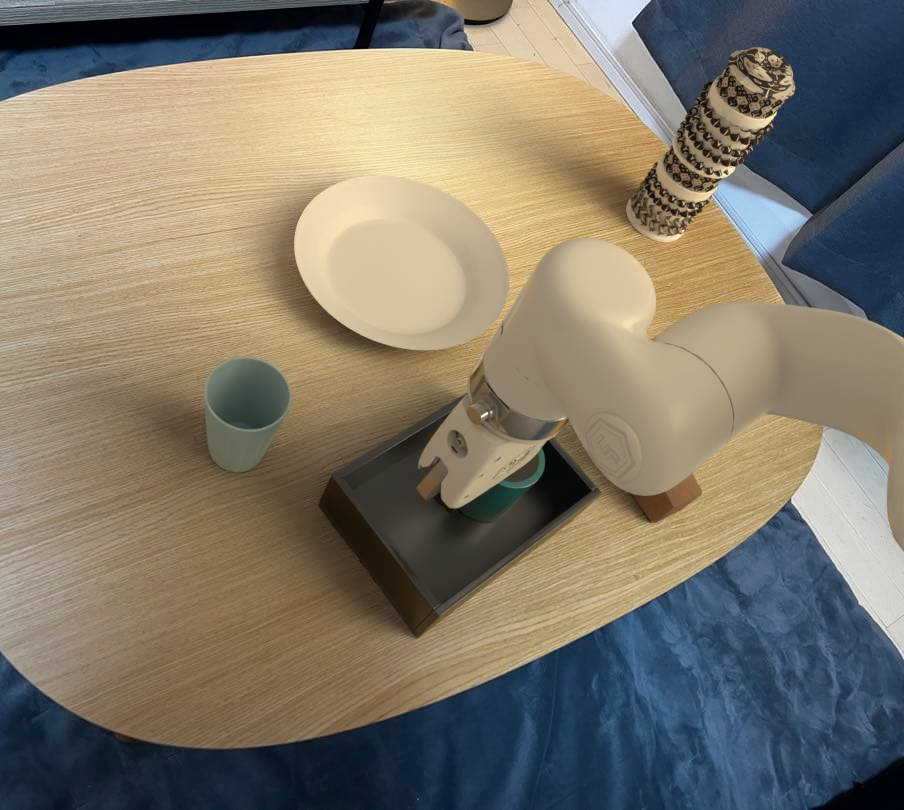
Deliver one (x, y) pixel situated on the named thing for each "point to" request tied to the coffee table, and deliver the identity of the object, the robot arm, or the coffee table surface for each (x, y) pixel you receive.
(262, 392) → the cup
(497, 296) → the white plate
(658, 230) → the decorative candle
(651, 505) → the wooden block
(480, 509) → the pot
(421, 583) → the dark grey shallow box
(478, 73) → the coffee table surface
